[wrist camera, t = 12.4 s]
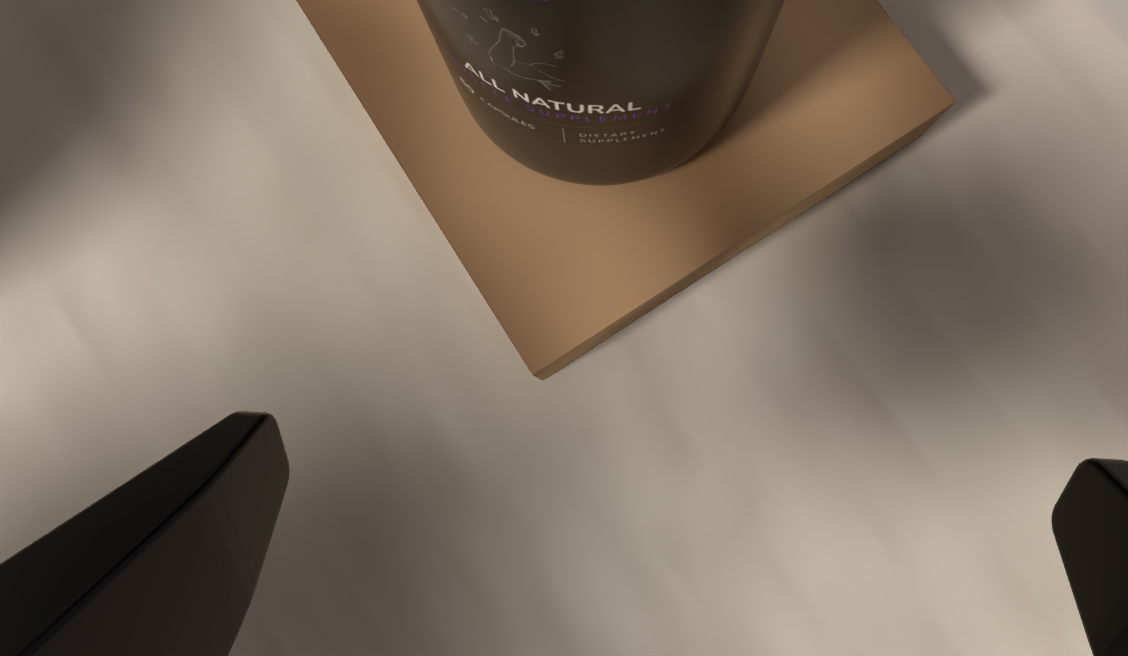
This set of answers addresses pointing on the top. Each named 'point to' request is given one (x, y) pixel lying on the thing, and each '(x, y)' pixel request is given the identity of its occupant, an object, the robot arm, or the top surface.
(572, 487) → the top surface
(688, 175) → the tan slab
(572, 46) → the supplement bottle
